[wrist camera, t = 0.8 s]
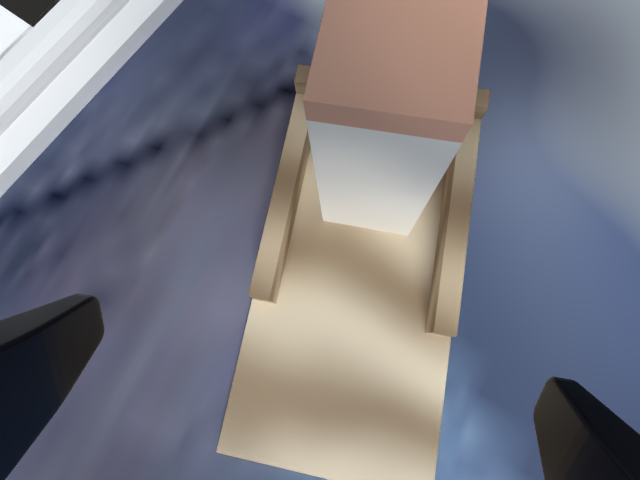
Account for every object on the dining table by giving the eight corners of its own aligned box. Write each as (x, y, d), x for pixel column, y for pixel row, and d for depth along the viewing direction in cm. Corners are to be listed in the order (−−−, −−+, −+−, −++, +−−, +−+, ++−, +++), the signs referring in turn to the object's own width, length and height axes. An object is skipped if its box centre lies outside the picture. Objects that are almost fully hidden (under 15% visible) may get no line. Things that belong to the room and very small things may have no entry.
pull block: (408, 235, 21) (473, 124, 11) (323, 220, 22) (302, 100, 11) (419, 156, 22) (489, -16, 12) (338, 144, 23) (333, -34, 12)
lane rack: (429, 499, 19) (448, 534, 15) (219, 449, 20) (193, 471, 16) (473, 128, 23) (495, 90, 20) (300, 103, 24) (293, 63, 21)
